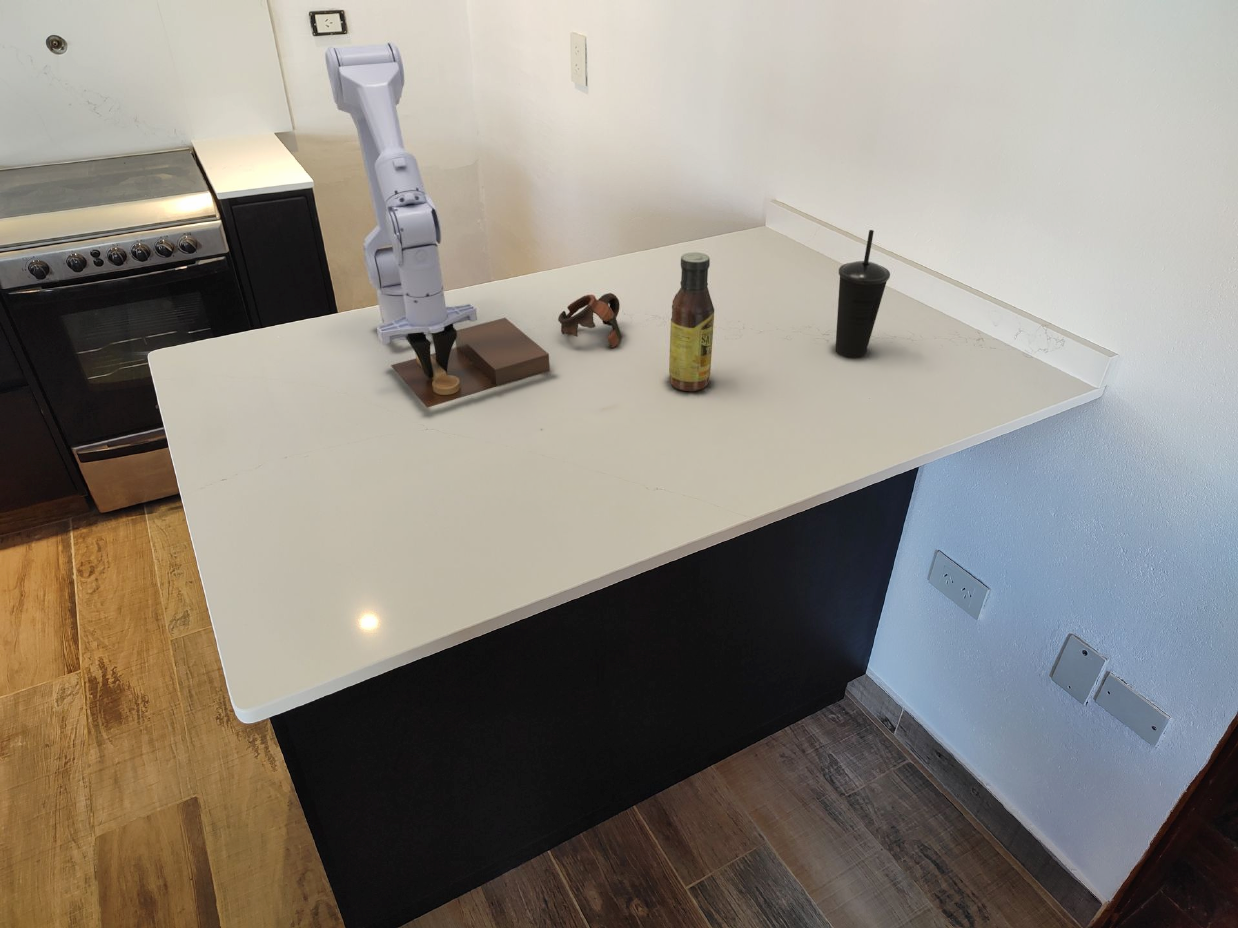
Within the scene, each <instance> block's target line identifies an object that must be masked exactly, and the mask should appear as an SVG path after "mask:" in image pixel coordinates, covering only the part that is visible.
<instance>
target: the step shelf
mask: <svg viewBox="0 0 1238 928" xmlns="http://www.w3.org/2000/svg"><path fill="white" fill-rule="evenodd" d="M456 331H457V338H456V340H455V347H452V349H451V352H450V356H449V360H448V367H447V374H446V375H451V376H455V377H457V378H459V380H460V390H459V391H457V392H456V393H453V394H450V395H440V394H437V393H435V392H434V391H433V385H432V382H433V381H434V380H433V379H432V378H428V377H427V376H426V375H425V373H424V370H423V368H422V367H421V366H420V365H419V364H418V363H417V360H416V357H415V358H412V359H408V360H404V361H400V362H398V363H393V364H391V365H390V367H391V368H392V369H393V370H394V371H395V373H396V374H397V375H398V376H399V377H400V378H401V380H402V381H403V382H404V383H405V384H406V385H407V386H408V387H409V388H410V390H411V391H412V392H413V394H414V395H415V396H416V397H417V398H418V399H419V400H420V401H421V403H422V404H423V406H425V407H426V408H427V409H428V408H432V407H434V406H438V405H441V404H444V403H447V402H452V401H455V400H457V399H458V400H459V399H461V398H464V397H467V396H470V395H474V394H478V393H481V392H484V391H488V390H491V389H494V388H498V387H501V386H504V385H507V384H511V383H514V382H517V381H521V380H524V379H527V378H531V377H534V376H537V375H540V374H544V373H547V372H551V370H550V369H551V368H550V354H549V352H547V351H546V350H545V349H543V348H542V347H541V346H540V345H539V344H537V343H536V342H535V341H534V340H533V339H531V338H530V337H529V336H528V335H527V334H526V333H524V332H523V331H522V330H521V329H519V328H518V327H517V326H516V325H515V324H513V322H511V321H510V320H509V319H507V318H506V317H502V318H498V319H495V320H491V321H486V322H483V323H480V324H475V325H472V326H468V327H464V328H460V329H456ZM430 355H431V357H432V358H433V359H434V360H435V361H436V355H435V352H434V353H430Z"/></svg>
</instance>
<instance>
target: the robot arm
mask: <svg viewBox="0 0 1238 928" xmlns="http://www.w3.org/2000/svg"><path fill="white" fill-rule="evenodd" d="M324 57H325V65H326V70H327V75H328V80H329V84H330V88H331V93H332V97H333V101H334V103H335V105H336V109H337V110H338V111H341V112H344V113H348V114H349V115H350V117H351V120H352V121H353V122H354V126H355V128H356V132H357V136H358V141H359V146H360V151H361V156H362V160H363V161H362V162H363V165H364V170H365V171H364V172H365V175H366V179H367V185H368V190H369V194H370V199H371V204H372V209H373V213H374V218H375V223H376V226H375V227H374V228H373V229H372V231H370V233H368V235H367V236H366V237H365V238H364V239H363V244H362V248H363V253H364V254H363V255H364V265H365V268H366V273H367V277H368V281H369V283H370V286H371V287H372V288H373V289H374V290H376V296H377V302H378V309H379V313H380V319H381V324H382V325H380V326H376V332H377V337H378V340H379V342H380V343H381V344H382V345H388V344H390V343H391V341H394V340H401V341H407V343H408V344H409V345H410V346H411V348H412V349H413V351H414V353H416V354H417V356H418V358H419V360H420V363H421V365H422V368H423V370H424V373H425V375H426V376H427V377H428V378H433V368H432V363H431V355H430V354H431V344H432V343H431V341H430V340H429V339H428V338H427V335H428V334H431V337H432V342H433V347H434V353H435V355H436V362H437V363H438V364H439V365H440V366H441V367H442V368H443V369H444V370H445V371H446V374H447V367H448V360H449V356H450V352H451V349H452V348H453V346H454V343H456V341H455V340H456V338H457V331H456V330H457V329H456V328H455V327H454V325H456V324H459V323H463V322H467V321H469V322H476V321H478V316H477V315H478V314H477V308H476V307H475V306H474V305H473V304H471V303H468V304H463V305H462V304H461V305H454V306H447V304H446V299H445V298H446V296H445V289H444V283H443V276H442V275H443V274H442V268H441V260H440V254H439V246H438V245H440V244H441V243H442V229H441V221H440V218H439V217H440V216H439V214H438V211H437V209H436V206H435V203H434V202H433V200H432V198H431V195H430V193H427V192H426V189H425V185H424V182H423V177H422V175H421V172H420V169H419V164H418V162H417V161H418V160H417V159H416V157H415V155H413V154H412V153H410V152H409V151H407V150H406V149H405V146H404V141H403V136H402V135H403V134H402V131H401V125H400V120H399V115H398V109H397V106H398V105H399V104H400V100H401V99H402V94H403V89H404V86H405V70H404V65H403V60H402V55H401V53H400V50H399V47H398V46H397V45H396V44H395V43H394V42H390V41H389V42H387V43H380V44H370V45H369V44H368V45H367V44H366V45H354V46H343V47H341V46H340V47H333V46H328V47H327V50H326V51H325V53H324ZM387 246H388V247H387ZM416 354H415V355H416Z"/></svg>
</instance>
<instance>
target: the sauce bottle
mask: <svg viewBox="0 0 1238 928" xmlns="http://www.w3.org/2000/svg"><path fill="white" fill-rule="evenodd" d="M710 261H711V258H710V256H709V255H708V254H706V253H702V252H697V251H695V252H693V251H692V252H687V253H683V254H682V255H681V257H680V268H681V276H680V278H681V279H680V288H679V289H678V291H677V293H676V294H675V295H674V298H673V300H672V304H671V318H670V332H669V333H670V335H669V337H670V338H669V357H668V359H669V364H668V365H669V366H668V373H669V382H670V385H671V386H672V387H673V388H674V389H677V390H679V391H684V392H697V391H700V390H702V389H704V388H706V387H707V386H708V384H709V382H710V376H711V370H712V368H711V367H712V355H713V354H712V353H713V339H714V325H715V324H714V323H715V307H714V304H713V300H712V298H711V295H710V290H709V287H708V286H709V283H708V278H709V277H708V275H709V268H710V266H711V264H710V263H711V262H710Z"/></svg>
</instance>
